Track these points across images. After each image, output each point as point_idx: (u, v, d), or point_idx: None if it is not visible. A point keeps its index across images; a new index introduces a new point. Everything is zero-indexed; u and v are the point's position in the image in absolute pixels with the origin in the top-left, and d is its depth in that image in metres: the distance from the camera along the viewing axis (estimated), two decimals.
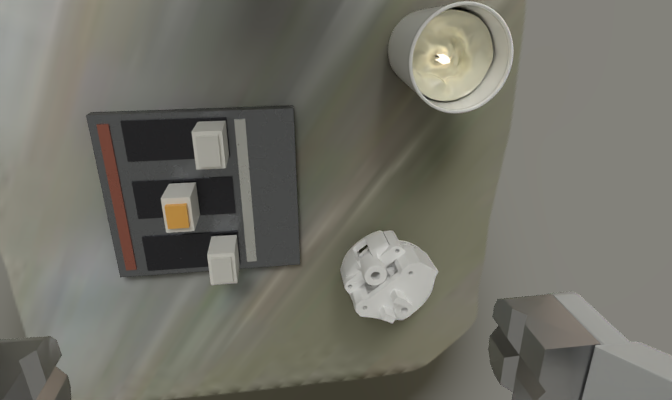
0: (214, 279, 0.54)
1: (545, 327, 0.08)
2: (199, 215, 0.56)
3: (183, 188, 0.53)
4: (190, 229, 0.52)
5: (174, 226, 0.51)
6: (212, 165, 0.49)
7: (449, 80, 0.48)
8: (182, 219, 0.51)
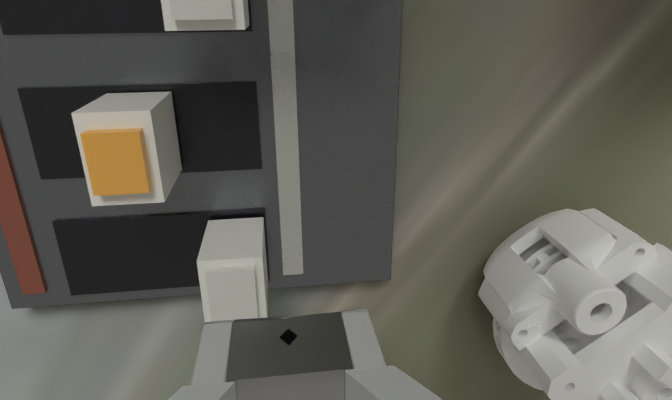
0: (214, 320, 0.23)
1: (307, 349, 0.08)
2: (180, 171, 0.24)
3: (138, 99, 0.21)
4: (154, 198, 0.20)
5: (110, 188, 0.19)
6: (209, 15, 0.18)
7: None
8: (130, 170, 0.19)
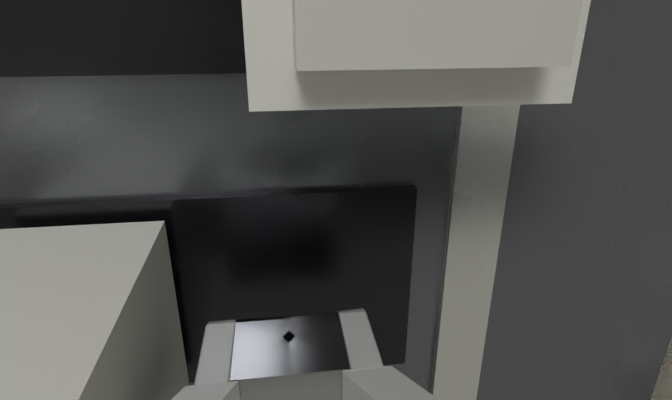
0: None
1: (305, 349, 0.08)
2: None
3: (65, 277, 0.07)
4: None
5: None
6: (471, 50, 0.04)
7: None
8: None
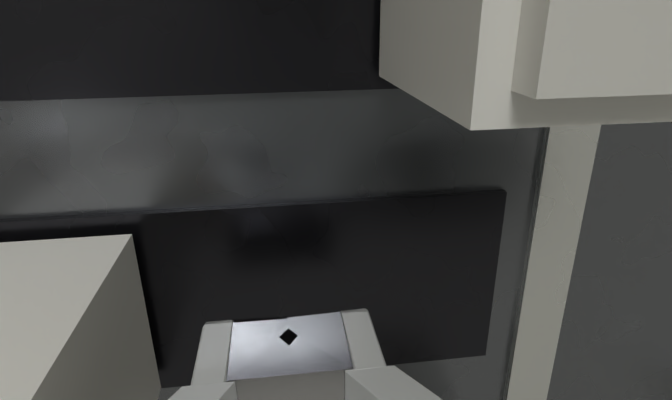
0: None
1: (308, 349, 0.08)
2: (156, 399, 0.11)
3: (31, 289, 0.08)
4: None
5: None
6: (669, 80, 0.05)
7: None
8: None
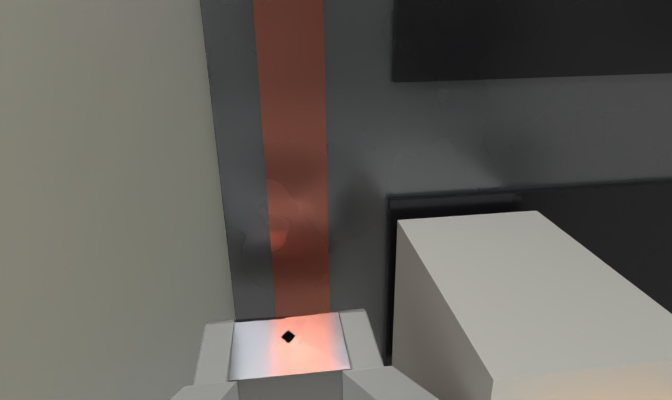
0: None
1: (305, 349, 0.08)
2: None
3: (534, 259, 0.08)
4: None
5: None
6: None
7: None
8: None
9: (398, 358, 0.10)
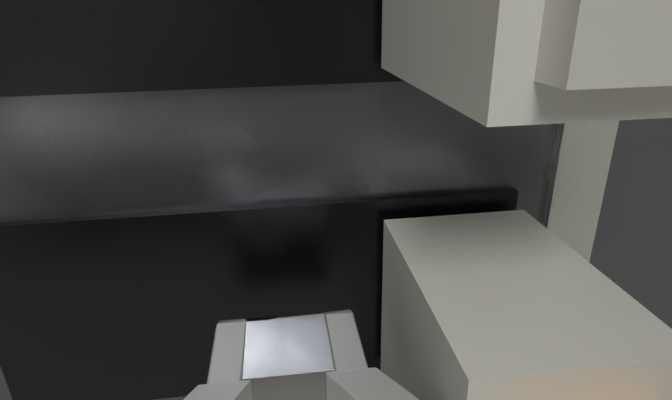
0: None
1: (290, 351, 0.07)
2: None
3: (518, 258, 0.08)
4: None
5: None
6: None
7: None
8: None
9: (386, 358, 0.10)
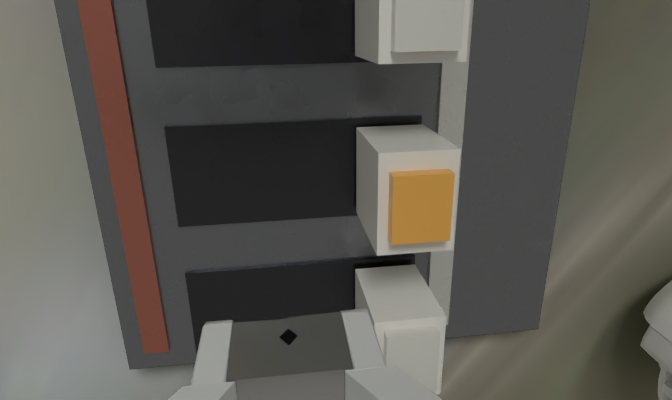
0: None
1: (308, 349, 0.08)
2: None
3: (410, 134, 0.19)
4: (443, 245, 0.18)
5: (410, 237, 0.17)
6: (436, 46, 0.15)
7: None
8: (436, 216, 0.17)
9: (358, 197, 0.21)
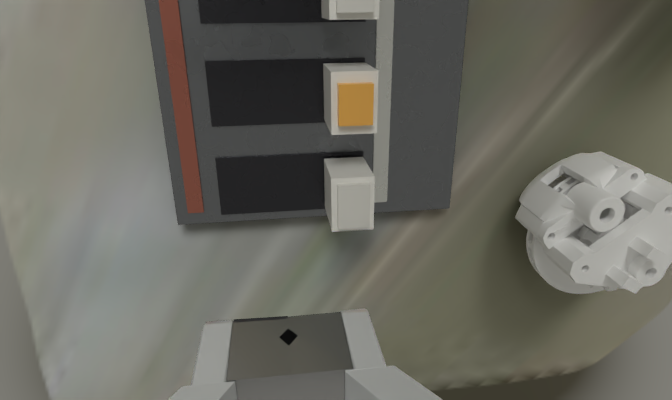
0: (340, 221, 0.33)
1: (308, 349, 0.08)
2: None
3: (354, 66, 0.32)
4: (370, 130, 0.31)
5: (349, 121, 0.30)
6: (360, 10, 0.28)
7: None
8: (364, 109, 0.30)
9: (324, 108, 0.34)
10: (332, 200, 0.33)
